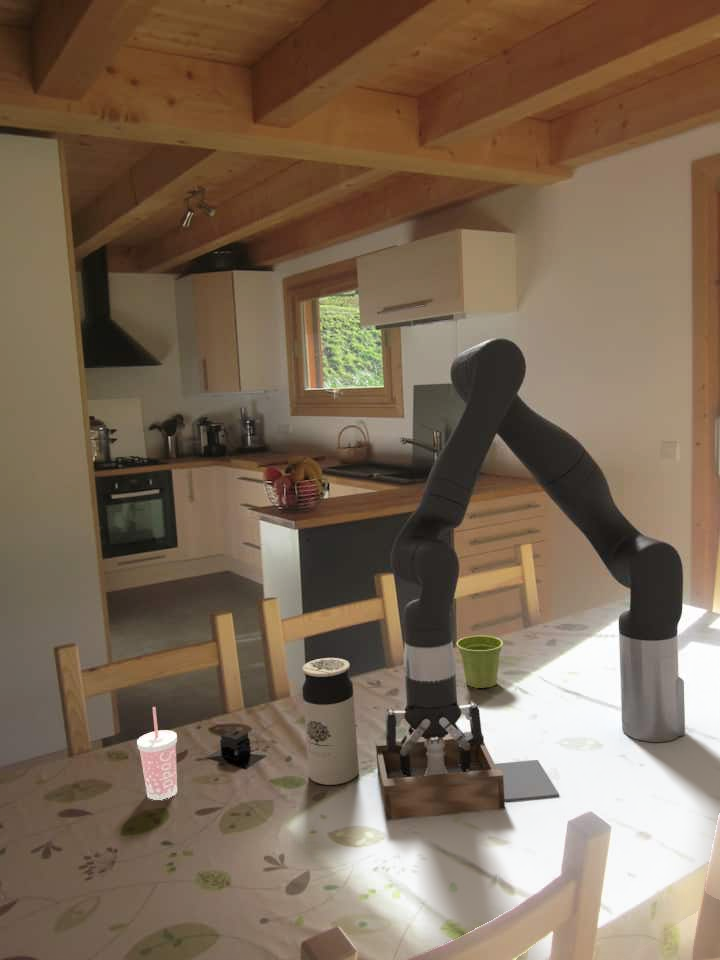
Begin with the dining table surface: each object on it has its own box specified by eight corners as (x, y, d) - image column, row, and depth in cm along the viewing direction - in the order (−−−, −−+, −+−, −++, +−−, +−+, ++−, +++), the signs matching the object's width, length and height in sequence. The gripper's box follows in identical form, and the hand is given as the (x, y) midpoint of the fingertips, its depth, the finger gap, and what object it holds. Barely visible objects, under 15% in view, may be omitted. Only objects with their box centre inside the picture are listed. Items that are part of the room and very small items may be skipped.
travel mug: (335, 758, 130) (327, 653, 128) (369, 772, 125) (361, 663, 123) (298, 776, 125) (290, 667, 123) (332, 792, 119) (324, 678, 117)
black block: (277, 758, 133) (275, 733, 132) (248, 777, 127) (246, 750, 126) (224, 744, 140) (222, 720, 139) (194, 761, 134) (192, 736, 133)
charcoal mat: (537, 761, 124) (537, 759, 124) (559, 796, 113) (559, 794, 113) (488, 766, 124) (488, 764, 124) (505, 801, 113) (504, 799, 113)
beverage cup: (146, 807, 118) (138, 718, 117) (138, 790, 124) (129, 705, 122) (186, 795, 121) (178, 708, 120) (176, 779, 126) (168, 696, 125)
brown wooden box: (482, 760, 126) (480, 731, 125) (505, 808, 111) (503, 775, 111) (377, 770, 125) (375, 740, 125) (386, 820, 110) (383, 786, 110)
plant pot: (512, 679, 161) (510, 638, 160) (494, 695, 153) (492, 652, 152) (470, 673, 166) (468, 633, 165) (450, 688, 158) (448, 647, 157)
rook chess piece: (451, 796, 115) (448, 744, 115) (421, 795, 116) (417, 744, 116) (453, 781, 120) (450, 731, 119) (424, 780, 121) (421, 731, 120)
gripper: (472, 658, 120) (477, 758, 122) (380, 665, 120) (386, 766, 121) (482, 674, 113) (487, 781, 115) (384, 683, 112) (391, 790, 114)
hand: (435, 773), depth 118 cm, fingers open, 8 cm apart
